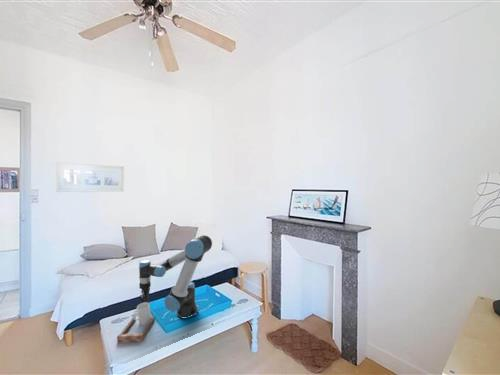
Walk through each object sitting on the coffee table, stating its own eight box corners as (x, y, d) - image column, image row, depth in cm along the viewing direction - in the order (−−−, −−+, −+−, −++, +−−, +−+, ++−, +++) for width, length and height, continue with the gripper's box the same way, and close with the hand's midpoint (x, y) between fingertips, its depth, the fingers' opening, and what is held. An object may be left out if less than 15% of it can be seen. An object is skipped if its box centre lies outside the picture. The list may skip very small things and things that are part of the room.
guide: (154, 320, 182) (154, 314, 182) (142, 341, 158) (141, 335, 158) (133, 321, 181) (133, 315, 181) (117, 342, 157) (117, 336, 157)
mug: (134, 328, 173) (131, 313, 171) (133, 321, 180) (130, 306, 178) (152, 321, 178) (150, 306, 176) (151, 314, 186) (148, 300, 183)
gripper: (143, 278, 192) (143, 308, 193) (136, 285, 179) (136, 318, 180) (153, 278, 192) (153, 308, 193) (146, 285, 179) (147, 318, 180)
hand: (145, 313), depth 187 cm, fingers closed
